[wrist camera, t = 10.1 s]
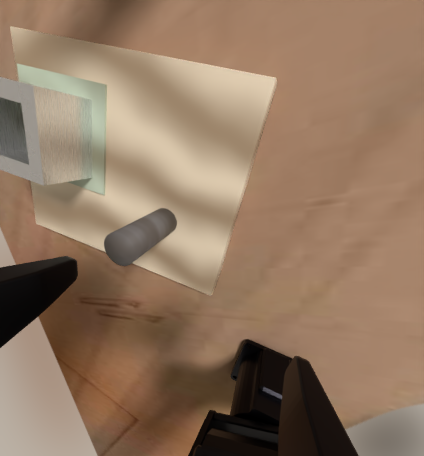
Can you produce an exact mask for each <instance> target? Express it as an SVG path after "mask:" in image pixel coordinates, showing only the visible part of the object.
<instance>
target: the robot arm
mask: <svg viewBox="0 0 424 456" xmlns="http://www.w3.org/2000/svg"><path fill="white" fill-rule="evenodd" d="M77 276H78V271H77V261H76V260H75V259H73V258H71V257H68V256H64V257H58V258H53V259H47V260H41V261H35V262H30V263H24V264H18V265H13V266H7V267H2V268H0V348H1V347H2V346H3V345H4V344H6V343H7V342H8V341H9V340H10V339H12V338H13V337H14V336H15V335H16V334H17V333H19V332H20V331H21V330H22V329H24V328H25V327H26V326H27V325H28V324H30V323H31V322H32V321H33V320H34V319H36V318H37V317H38V316H39V315H40V314H41V313H43V312H44V311H45V310H46V309H47V308H48V307H49V306H50V305H51V304H52V303H53V302H54V301H55V300H56V299H57V298H58V297H59V296H60V295H61V294H62V293H63V292H64V291H65V290H66V289H67V288H68V287H69V286H70V285H71V284H72V283H73V282H74V281H75V280H76V279H77ZM231 378H232V379H233V380H235V381H237V382H236V387H235V392H234V397H233V402H232V407H231V412H230V415H226V414H221V413H217V412H216V411H213V410H209V412H208V414H207V417H206V419H205V420H204V422H203V425H202V427H201V429H200V431H199V433H198V435H197V438H196V440H195V442H194V444H193V446H192V449H191V451H190V453H189V455H188V456H358V454H357V452H356V450H355V448H354V446H353V445H352V443H351V440H350V438H349V437H348V435H347V433H346V431H345V429H344V427H343V425H342V423H341V421H340V419H339V418H338V416H337V414H336V412H335V410H334V408H333V406H332V404H331V402H330V401H329V399H328V397H327V395H326V393H325V391H324V389H323V387H322V385H321V383H320V382H319V380H318V378H317V376H316V374H315V372H314V370H313V368H312V366H311V364H310V363H309V362H308V361H307V360H306V359H303V358H301V357H299V356H295V357H294V358H293V359H291V358H289V357H287V356H285V355H282V354H280V353H278V352H275V351H273V350H271V349H269V348H266V347H264V346H262V345H260V344H257V343H255V342H253V341H250V340H246V341H245V343H244V345H243V347H242V349H241V352H240V354H239V356H238V359H237V361H236V363H235V366H234V368H233V370H232V373H231Z"/></svg>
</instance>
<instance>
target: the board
mask: <svg viewBox="0 0 424 456" xmlns="http://www.w3.org/2000/svg"><path fill="white" fill-rule="evenodd" d="M10 29H11V37H12V44H13V52H14V59H15V67H16V75H17V81H20V82H25V83H29V84H33V85H36V86H40V87H44V88H48V89H52V90H56V91H60V92H63V93H67V94H71V95H75V96H79V97H83V98H87V99H90V100H92V178H87V179H81V180H75V181H69V182H63V183H57V184H51V185H45V186H43V185H41V184H38V183H35V182H33V181H31V188H32V196H33V203H34V211H35V218H36V224H39V225H41V226H44V227H46V228H48V229H51V230H53V231H56V232H58V233H60V234H63V235H65V236H68V237H70V238H72V239H75V240H77V241H80V242H82V243H85V244H87V245H89V246H92V247H94V248H97V249H99V250H101V251H104V252H106V253H107V255H108V256H109V258H110V259H111V260H112V261H113V262H115V263H116V264H119V265H122V266H127V265H130V264H131V263H133V264H135V265H138V266H140V267H142V268H145V269H147V270H150V271H152V272H155V273H157V274H159V275H162V276H164V277H167V278H169V279H171V280H174V281H176V282H179V283H181V284H184V285H186V286H188V287H191V288H193V289H196V290H198V291H200V292H203V293H205V294H208V295H210V296H212V294H213V292H214V290H215V288H216V285H217V282H218V278H219V275H220V272H221V268H222V265H223V262H224V258H225V255H226V252H227V248H228V245H229V242H230V239H231V235H232V232H233V229H234V225H235V222H236V219H237V215H238V212H239V209H240V205H241V202H242V199H243V195H244V192H245V189H246V186H247V182H248V179H249V176H250V172H251V169H252V166H253V162H254V159H255V156H256V152H257V149H258V146H259V143H260V139H261V136H262V133H263V129H264V126H265V123H266V119H267V116H268V113H269V109H270V106H271V103H272V100H273V96H274V93H275V90H276V86H277V79H276V78H274V77H269V76H263V75H258V74H253V73H248V72H243V71H238V70H233V69H227V68H222V67H217V66H212V65H207V64H202V63H197V62H191V61H186V60H181V59H176V58H171V57H166V56H161V55H156V54H150V53H145V52H140V51H135V50H130V49H125V48H120V47H114V46H109V45H104V44H99V43H94V42H89V41H84V40H79V39H73V38H68V37H63V36H58V35H53V34H48V33H43V32H37V31H32V30H27V29H22V28H17V27H12V26H10Z"/></svg>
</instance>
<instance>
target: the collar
mask: <svg viewBox="0 0 424 456" xmlns="http://www.w3.org/2000/svg"><path fill="white" fill-rule="evenodd" d="M0 170H3V171H6V172H8V173H11V174H14V175H16V176H19V177H22V178H25V179H27V180H30V181H33V182H35V183H38V184H41V185H43V186H45V185H51V184H57V183H63V182H69V181H75V180H81V179H87V178H92V100H90V99H87V98H83V97H79V96H75V95H71V94H67V93H63V92H60V91H56V90H52V89H48V88H44V87H40V86H36V85H33V84H29V83H25V82H20V81H16V80H12V79H8V78H4V77H0Z"/></svg>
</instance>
